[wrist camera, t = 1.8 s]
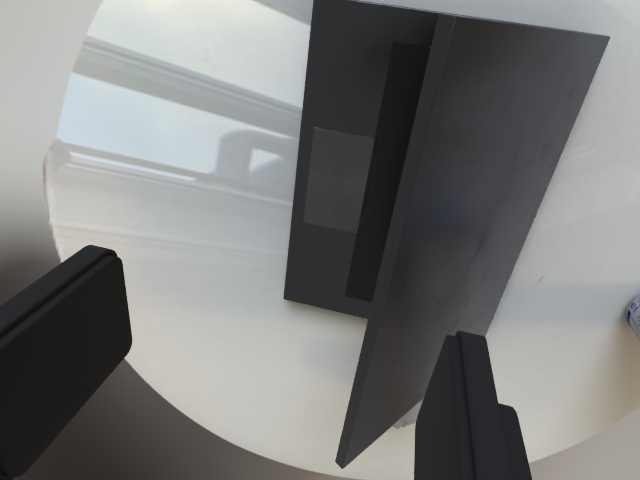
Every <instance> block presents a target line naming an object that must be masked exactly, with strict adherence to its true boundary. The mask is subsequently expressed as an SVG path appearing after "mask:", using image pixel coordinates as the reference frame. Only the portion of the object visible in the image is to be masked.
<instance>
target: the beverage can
mask: <svg viewBox="0 0 640 480" xmlns="http://www.w3.org/2000/svg"><path fill="white" fill-rule="evenodd" d="M626 317H627V321H628V323H629V325H630V326H631V328H632V330H633V331H634V333H635V334H636V336H637V337H638V339H639V340H640V296H638V297H637V298H635V299H634V300H633V301H632V302H631V303H630V305H629V306H628V308H627V312H626Z"/></svg>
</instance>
